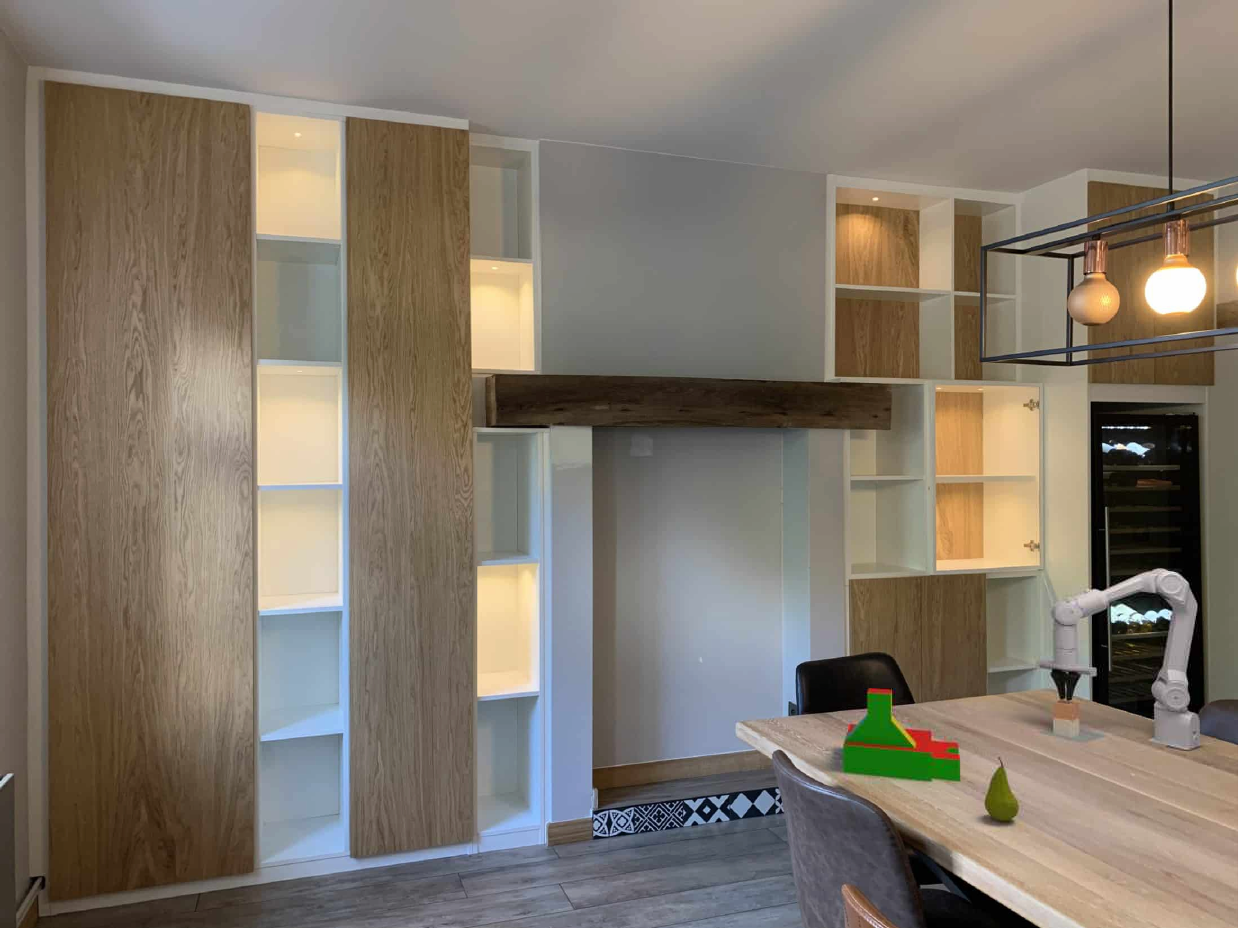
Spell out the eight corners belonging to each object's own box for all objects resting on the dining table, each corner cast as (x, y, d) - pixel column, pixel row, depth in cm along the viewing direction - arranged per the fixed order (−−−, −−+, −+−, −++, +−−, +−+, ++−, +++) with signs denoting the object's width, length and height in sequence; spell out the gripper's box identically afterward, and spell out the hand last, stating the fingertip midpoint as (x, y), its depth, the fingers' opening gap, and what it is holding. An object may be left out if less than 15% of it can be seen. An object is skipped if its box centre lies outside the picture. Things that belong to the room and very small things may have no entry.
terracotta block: (1078, 718, 232) (1078, 702, 232) (1072, 721, 228) (1072, 705, 229) (1060, 714, 235) (1060, 699, 235) (1054, 717, 232) (1054, 702, 232)
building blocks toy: (960, 785, 193) (959, 701, 193) (843, 773, 201) (843, 692, 201) (957, 760, 210) (957, 684, 211) (850, 750, 219) (849, 676, 219)
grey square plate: (1107, 737, 230) (1107, 735, 230) (1083, 744, 223) (1083, 742, 223) (1061, 727, 239) (1061, 725, 239) (1037, 733, 233) (1037, 732, 233)
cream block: (1079, 734, 231) (1079, 718, 231) (1070, 736, 228) (1070, 721, 228) (1062, 730, 234) (1062, 715, 235) (1053, 732, 232) (1053, 717, 232)
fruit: (1007, 828, 168) (1006, 764, 168) (977, 818, 173) (977, 756, 173) (1025, 820, 172) (1024, 758, 172) (995, 811, 177) (995, 751, 177)
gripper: (1100, 649, 229) (1101, 701, 229) (1042, 642, 240) (1043, 692, 240) (1090, 652, 225) (1091, 706, 224) (1032, 645, 235) (1033, 696, 235)
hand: (1065, 699), depth 232 cm, fingers closed
